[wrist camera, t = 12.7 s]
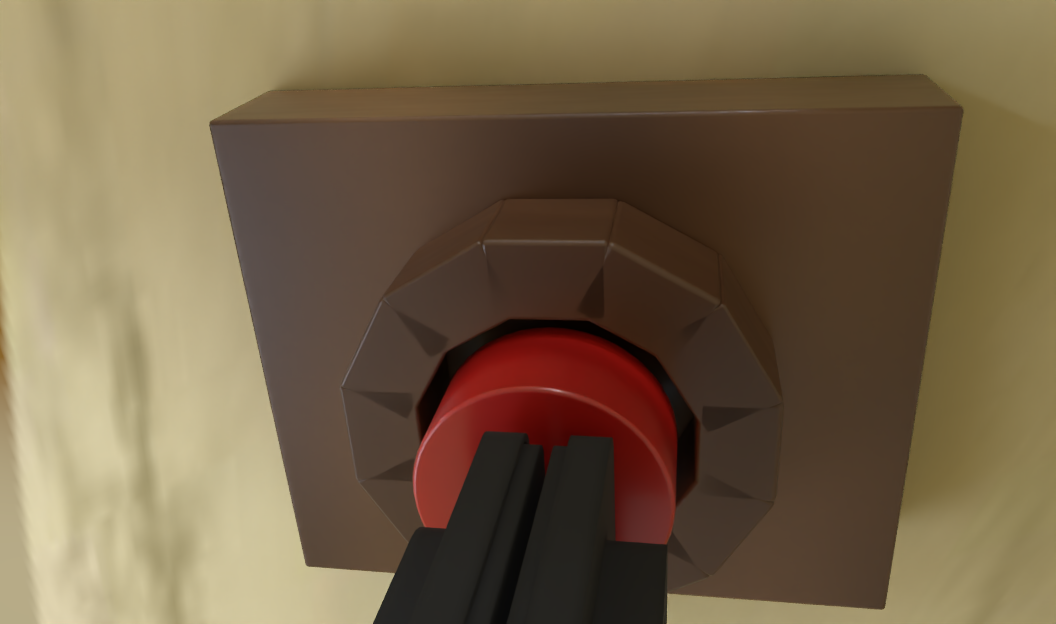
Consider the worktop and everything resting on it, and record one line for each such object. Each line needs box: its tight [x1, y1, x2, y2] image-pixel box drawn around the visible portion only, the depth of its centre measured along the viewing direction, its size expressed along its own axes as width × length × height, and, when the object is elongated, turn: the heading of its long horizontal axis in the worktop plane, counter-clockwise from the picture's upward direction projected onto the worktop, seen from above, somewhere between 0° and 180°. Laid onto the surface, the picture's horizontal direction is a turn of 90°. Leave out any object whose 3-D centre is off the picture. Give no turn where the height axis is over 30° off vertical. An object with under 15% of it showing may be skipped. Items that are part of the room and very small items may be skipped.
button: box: [413, 327, 678, 544], centre depth 13 cm, size 4×4×2 cm
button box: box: [209, 74, 963, 609], centre depth 15 cm, size 11×9×4 cm
